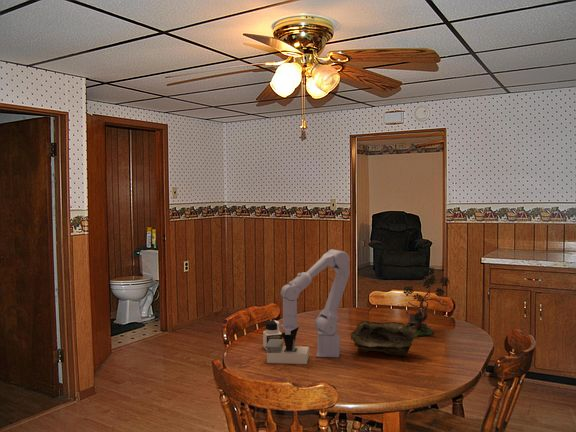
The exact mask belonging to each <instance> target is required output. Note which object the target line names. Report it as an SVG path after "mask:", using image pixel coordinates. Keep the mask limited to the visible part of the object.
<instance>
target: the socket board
mask: <svg viewBox="0 0 576 432" xmlns="http://www.w3.org/2000/svg"><path fill="white" fill-rule="evenodd" d="M283 343H285V342H284V339H283V338H282V339H270V340H269V341H268V343H267V344H266V346H265V348H268V351H266V363H267V364H289V365H290V364H292V365H294V364H296V365H308V362H309V358H310V346H296V345H295V352H286V346H285V345H283V346H281V345H282V344H283ZM265 348H264V349H265Z"/></svg>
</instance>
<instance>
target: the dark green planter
mask: <svg viewBox="0 0 576 432" xmlns="http://www.w3.org/2000/svg"><path fill="white" fill-rule="evenodd" d="M350 339H351V340H352V341H353V343H354V346H355V347H356V348H357V349H358V350H360V351H361V353H362V354H366V353H367V352H372V351H374V352H383V353H385V354H387V355H395V356H399V357H407V355H408V354H409V352H410V351H409V350H410V349H411V347H412V346H413V345H414V344H413V341H414V340H416V339H419V336H418V335H417V329H415V328H413V327H410V326H406V324H404V323H403V322H401V323H400V322H395V321H392V322H390V321H389V322H377V321H376V322H375V321H374V322H370V321H368V320H363V321H361V322H359V323H358V324H357V326H356V329H355V330H354V331H352V332H351V333H350ZM351 340H350V341H351Z"/></svg>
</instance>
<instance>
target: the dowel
mask: <svg viewBox="0 0 576 432" xmlns="http://www.w3.org/2000/svg"><path fill="white" fill-rule="evenodd" d="M295 344H296V339H295V340H294V341H293V348H292V351H287V350H286V352H295V346H296V345H295Z"/></svg>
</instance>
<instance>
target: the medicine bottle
mask: <svg viewBox="0 0 576 432" xmlns="http://www.w3.org/2000/svg"><path fill="white" fill-rule="evenodd" d="M282 333H283V332H281V331H280V321H278V320H275V319H273V320H272V319H271V320H267V321H266V322H265V330H263V331H262V338H263V339H262V344H263V345H262V346H263V348H264V349H265V351H266V352H268V348H265V346H266V344H267V343H268V341H269V340H270V339H283V337H282ZM281 346H284V345H283V344H282V345H281Z"/></svg>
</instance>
